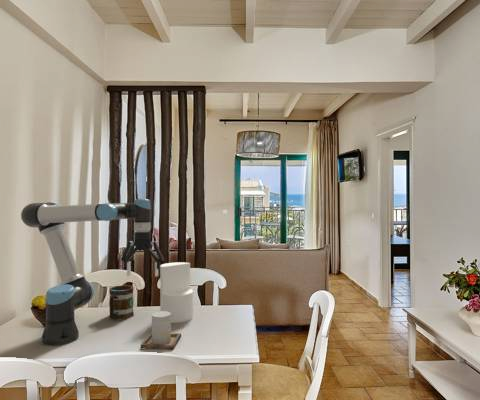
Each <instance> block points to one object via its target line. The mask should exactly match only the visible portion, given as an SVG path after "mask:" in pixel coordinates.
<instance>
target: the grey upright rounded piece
mask: <svg viewBox="0 0 480 400" xmlns="http://www.w3.org/2000/svg"><path fill="white" fill-rule="evenodd" d="M151 333H152V343H153V344H168V343H170V342H171V333H172V323H171V313H170V312H167V311H156V312H153V313H152V314H151Z"/></svg>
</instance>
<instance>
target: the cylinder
mask: <svg viewBox="0 0 480 400" xmlns="http://www.w3.org/2000/svg"><path fill="white" fill-rule="evenodd" d="M159 270H160V271H159V273H160V274H159V275H160V276H159V277H160V279H159V282H160V283H159V284H160V286H159V287H160V288H159V289H160V290H159V291H160V299H159V301H160V302H159V303H160V308H159V309H160V311H167V312H170V313H171V324H172V323H173V324H175V323H184V322H188V321H191V320H192V319H193V318H194V290H193V289H192V288H191V262H185V261H183V262H182V261H181V262H180V261H178V262H177V261H176V262H168V263H167V262H166V263H163V264H160V269H159ZM160 311H159V312H160Z"/></svg>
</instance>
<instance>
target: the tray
mask: <svg viewBox="0 0 480 400" xmlns="http://www.w3.org/2000/svg"><path fill="white" fill-rule="evenodd" d="M181 338H182V333H181V332H179V333H178V332H171V342H170V343H168V344H153V343H152V332H150V334H148V336H147V337H146V338H145V339H144V340H143V341H142V342H141V343H140V349H141V348H145V349H144V350H170V351H171V350H172V351H173V350H174V349H175V348H176V346H177V345H178V343H179V342H180V340H181Z"/></svg>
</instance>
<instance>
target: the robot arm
mask: <svg viewBox="0 0 480 400" xmlns="http://www.w3.org/2000/svg"><path fill="white" fill-rule="evenodd" d="M151 209H152V207H151V200H150V199H147V198H136V199H134V201H133V203H132V202H131V203H129V202H127V203H126V202H124V203H123V202H115V203H110V202H109V203H108V202H105V203H97V204H95V203H93V204H92V203H91V204H73V205H60V204H59V203H54V202H32V203H28V204H27V205H26V206H25V207H24V208H22V210H21V214H20V216H21V217H20V218H21V221H22V222H23V224H24V225H25V226H26V227H27V226H28V227H29V228H38V231H39V233H40V234H41V235H44V237H45V239H46V243H47V245H48V248H49V250H50V253H51V256H52V259H53V261H54V264H55V268H56V270H57V272H58V275H59V278H60V280H61V281H60V284H59V285H54V286H52V287H50V288H49V289H48V290H46V293H45V300H44V301H45V325H44V329H43V332H42V334H41V338H40V339H41V340H40V341H41V344H42V345H44V346H49V347H50V346H61V345H62V346H63V345H66V344H70V343H73V342H74V341H75V342H76V340H78V339H79V336H80V332H79V329H78V326H77V322H76V319H75V311H76V310H77V309H80V308H81V307H84V306H86V305H87V304H88V303H89V302H90V301H91V300H92V299H93V297H94V295H95V289H94V285H93V284H92V283H91V282H90V281H89V280H87V279H86V277H85V275H83V274H82V273H80V271H79V268H78V266H77V263H76V260H75V257H74V255H73V252H72V249H71V247H70V244H69V242H68V238H67V236H66V233H65V231H64V228H65V227H66V224H65V223H73V222H75V223H76V222H97V221H98V222H99V221H103V222H104V221H105V222H108V221H109V222H110V221H114V220H115V221H116V220H124V219H125V220H133V219H134V222H133V225H134V229H133V230H134V237H133V238H134V241H132V240H130V241H128V242H127V245H126V248H125V251H124V252H123V254H122V257H121V258H120V260H121V261H123V262H124V268H125V270H126V276H127V277H129V276H131V271H132V266H131V264H132V263H131V261H130V260H131V259H132V258H133V257H134V255H135V254H136V252H138V251H139V252H143V251H144V252H146V251H147V252H148V253H149V255H150V256H151V257H152V258H153V259H154V260H155V262H154V277H158V276H159V270H160V265H161V262H162V261H165V257H164V256H163V253H162V251H161V249H160V248H159V245H158V241H156V240H155V241H151V238H152V236H151V235H152V233H151V231H152V230H151V221H152V220H151V216H152V215H151V211H152V210H151ZM133 246H134V248H133V249H132V251H131V248H132V247H133ZM151 246H153V249H154V250H155V251H154V250H153V249H152V247H151ZM130 251H131V252H130ZM129 252H130V253H129Z"/></svg>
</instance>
